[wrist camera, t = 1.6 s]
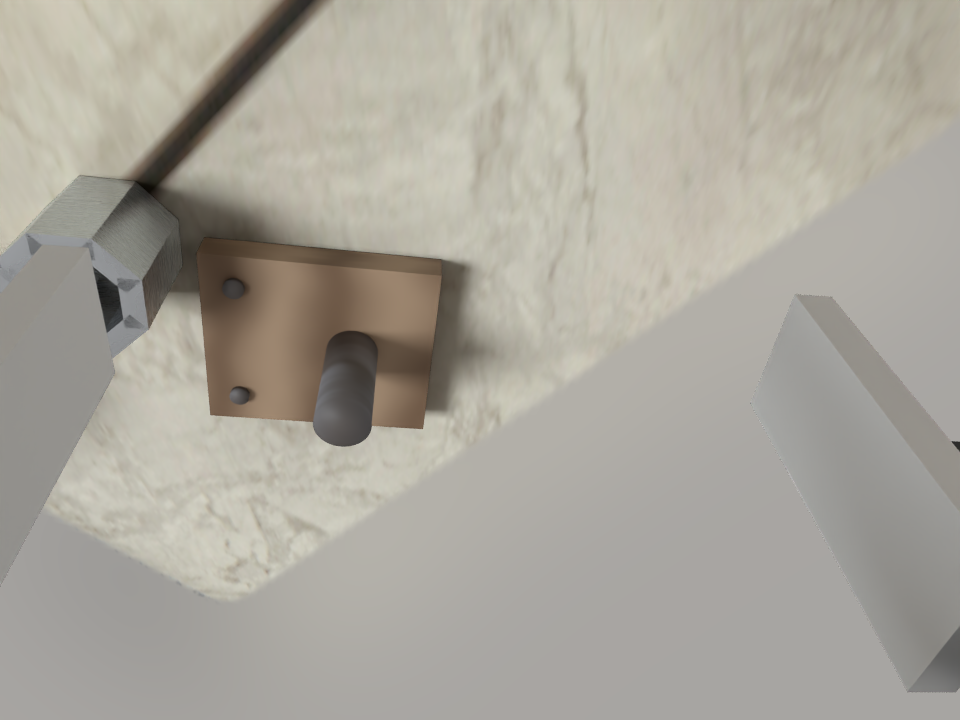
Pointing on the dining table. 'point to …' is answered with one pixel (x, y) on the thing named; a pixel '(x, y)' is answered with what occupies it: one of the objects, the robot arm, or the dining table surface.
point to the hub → (109, 249)
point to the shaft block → (318, 335)
